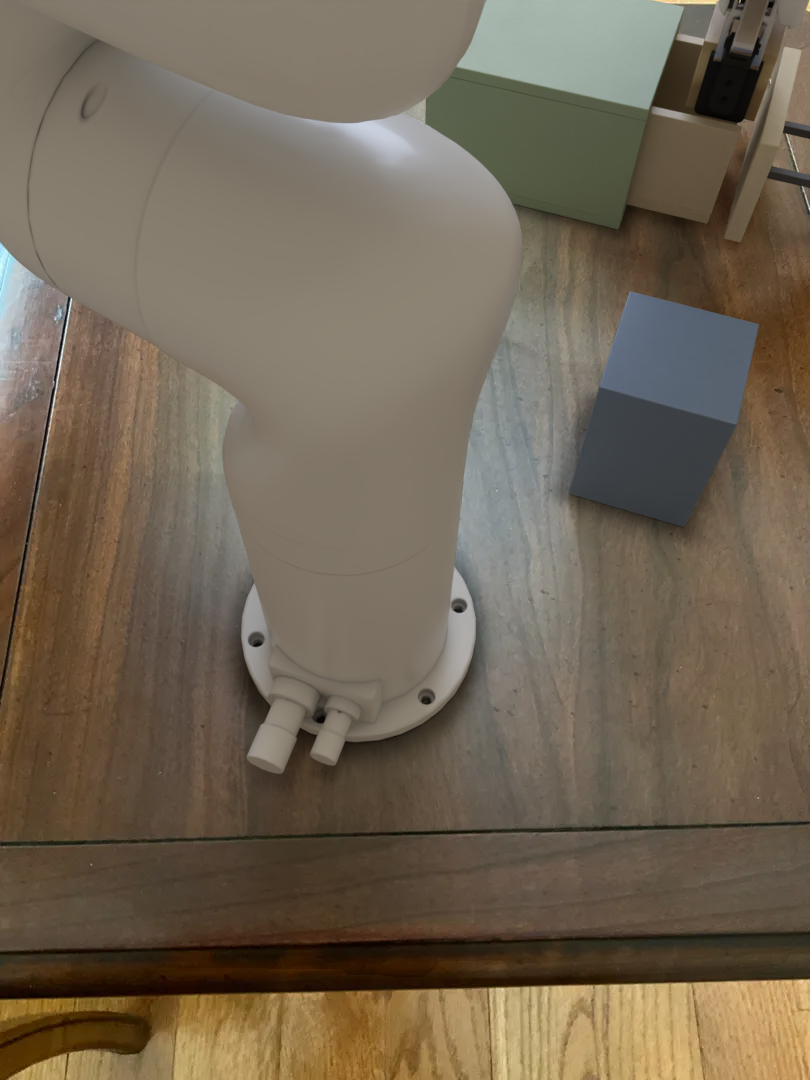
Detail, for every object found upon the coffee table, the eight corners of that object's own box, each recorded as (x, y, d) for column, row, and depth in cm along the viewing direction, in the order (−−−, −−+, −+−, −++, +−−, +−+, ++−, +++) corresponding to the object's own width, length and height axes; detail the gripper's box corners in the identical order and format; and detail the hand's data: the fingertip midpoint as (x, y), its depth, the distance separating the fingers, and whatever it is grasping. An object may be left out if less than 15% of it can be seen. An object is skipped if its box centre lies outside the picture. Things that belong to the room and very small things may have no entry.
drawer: (844, 166, 70) (892, 68, 64) (827, 264, 66) (876, 168, 59) (586, 108, 74) (605, 8, 67) (550, 196, 69) (567, 99, 62)
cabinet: (652, 128, 74) (685, 6, 65) (618, 230, 68) (649, 110, 60) (470, 87, 76) (479, -36, 68) (423, 182, 71) (426, 60, 62)
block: (754, 121, 62) (778, 56, 58) (684, 106, 63) (704, 40, 59) (764, 80, 64) (788, 14, 60) (697, 66, 65) (717, 0, 61)
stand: (684, 527, 56) (737, 425, 48) (567, 493, 57) (598, 387, 49) (706, 435, 59) (759, 323, 51) (595, 405, 61) (629, 290, 52)
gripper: (897, -147, 43) (762, 187, 59) (926, -301, 51) (800, 30, 67) (729, -176, 44) (641, 159, 60) (783, -322, 52) (692, 8, 68)
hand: (726, 88), depth 63 cm, fingers closed on block, 4 cm apart
